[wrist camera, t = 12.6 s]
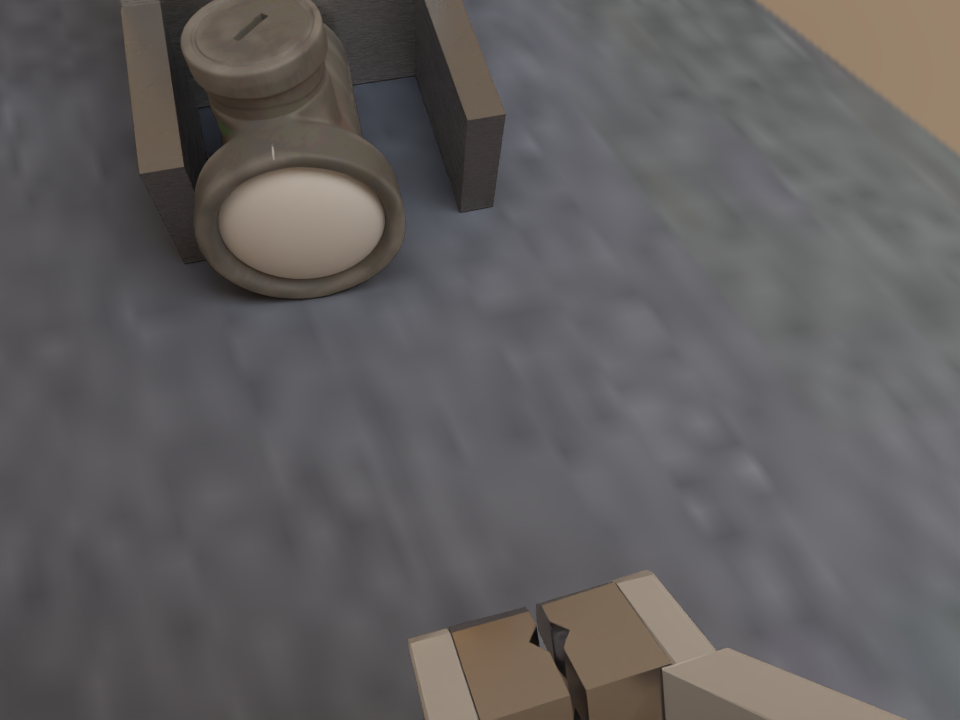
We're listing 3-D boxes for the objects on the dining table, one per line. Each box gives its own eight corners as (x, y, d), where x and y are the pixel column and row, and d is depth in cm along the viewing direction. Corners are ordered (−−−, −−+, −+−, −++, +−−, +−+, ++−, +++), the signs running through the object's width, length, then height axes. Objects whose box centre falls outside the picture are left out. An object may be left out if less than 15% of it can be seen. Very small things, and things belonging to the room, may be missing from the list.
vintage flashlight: (418, 290, 33) (384, 97, 24) (233, 322, 32) (130, 136, 24) (384, 109, 39) (348, -95, 30) (229, 133, 39) (147, -68, 30)
